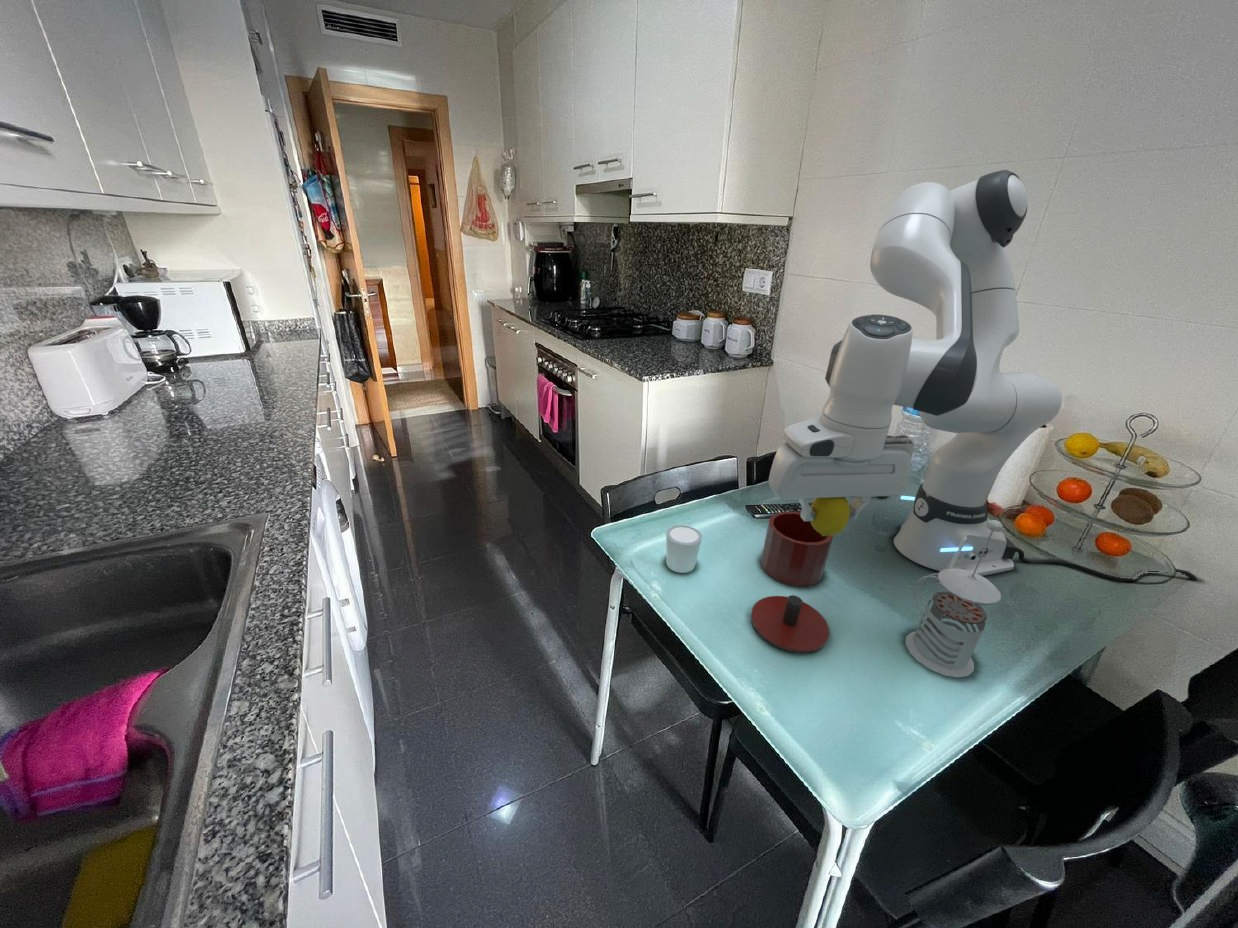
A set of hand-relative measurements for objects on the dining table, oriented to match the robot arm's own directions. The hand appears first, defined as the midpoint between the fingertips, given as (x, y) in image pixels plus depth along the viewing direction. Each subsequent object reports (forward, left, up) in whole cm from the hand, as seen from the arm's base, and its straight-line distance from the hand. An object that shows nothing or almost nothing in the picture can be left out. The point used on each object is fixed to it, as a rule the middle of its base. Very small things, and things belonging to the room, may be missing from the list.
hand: (827, 518), depth 77 cm
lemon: (0, 0, -3) cm, 3 cm away
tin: (-5, -15, -21) cm, 26 cm away
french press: (-20, +7, -21) cm, 30 cm away
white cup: (+17, -17, -21) cm, 32 cm away
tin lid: (+3, +1, -20) cm, 20 cm away
